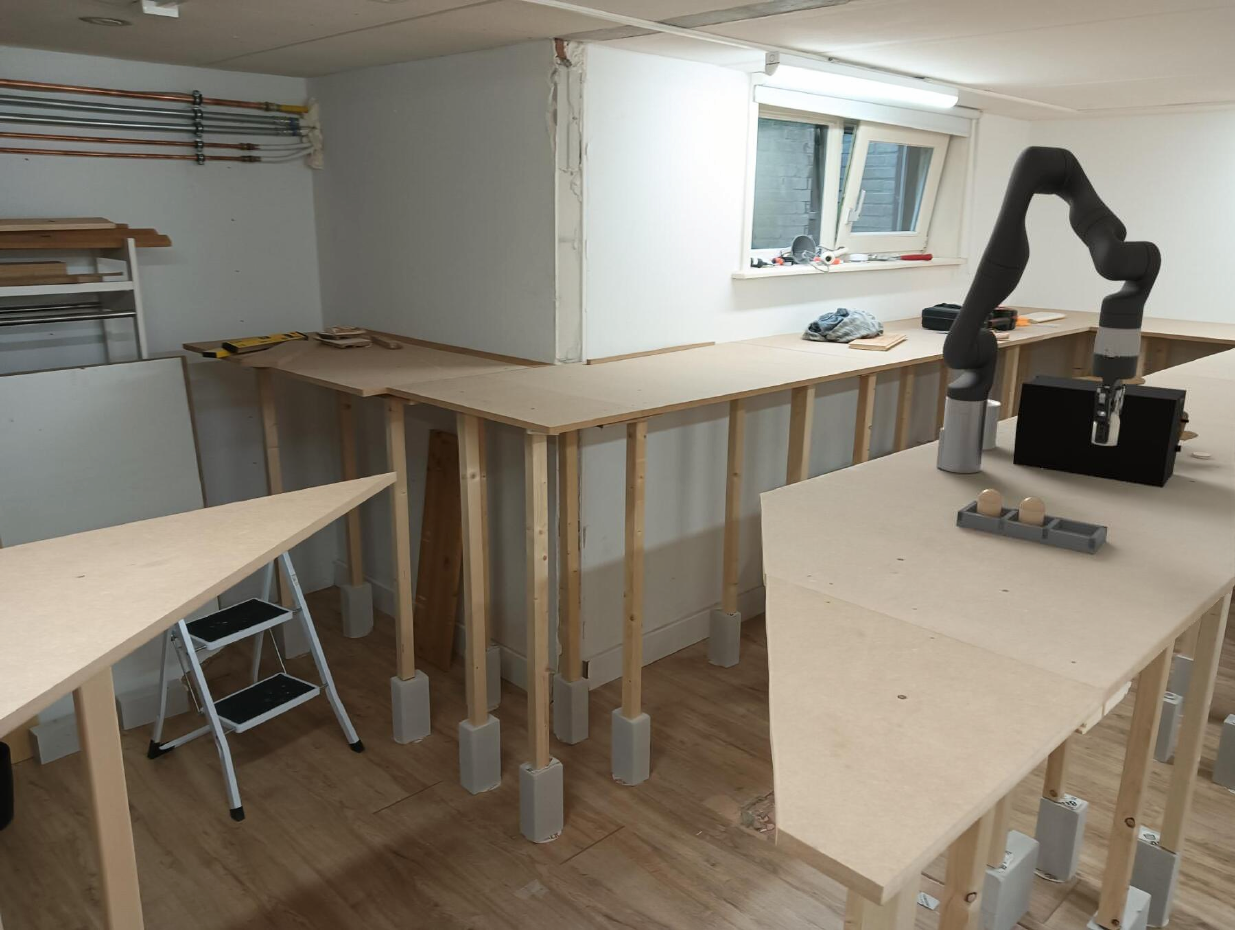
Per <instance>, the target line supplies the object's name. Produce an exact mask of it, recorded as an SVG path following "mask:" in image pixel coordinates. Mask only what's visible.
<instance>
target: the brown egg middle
mask: <svg viewBox="0 0 1235 930" xmlns="http://www.w3.org/2000/svg"><path fill="white" fill-rule="evenodd" d="M1045 510H1046V506H1045V504H1044V501H1043V500H1042V499H1040V498H1039V497H1037V496H1028V497H1026V498H1024V499H1023V500H1022V501H1021V503H1020V505H1019V518H1018V522H1019V523H1024V524H1029V525H1034V526H1039V527H1043V520H1044V515H1045V512H1046V511H1045Z"/></svg>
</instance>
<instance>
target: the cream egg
mask: <svg viewBox="0 0 1235 930" xmlns="http://www.w3.org/2000/svg"><path fill="white" fill-rule="evenodd" d="M1105 415H1106V413H1105V412H1101V416H1105ZM1096 426H1097V423H1096V422H1094V425H1093V432H1092V440H1091V442H1092V443H1094V444H1097V445H1104V446H1114V445H1117V440H1118V433H1119V426H1120V419H1119V417H1118V416H1117V415H1116V414H1115V413H1113V415H1112V422H1111V424H1110V431H1109V439H1108V442H1107V443H1106V444H1101V443H1096V442H1095V433H1096Z"/></svg>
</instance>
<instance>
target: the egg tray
mask: <svg viewBox="0 0 1235 930" xmlns="http://www.w3.org/2000/svg"><path fill="white" fill-rule="evenodd" d="M977 504H978V500H973V501H972V502H970V503H969V504H967V505H966V506H964V507H963V508H961V509H959V510H958V511H957V515H956V526H959V527H963V528H968V529H973V530H978V531H982V532H987V533H991V534H997V535H1001V536H1005V537H1010V538H1016V539H1018V540H1019V539H1020V540H1024V541H1029V542H1034V543H1038V544H1043V545H1048V546H1052V547H1057V548H1061V549H1066V550H1069V551H1071V550H1072V551H1075V552H1080V553H1085V554H1090V555H1094V554H1095V553H1096V552H1097V551H1098V550H1099V549H1100V548H1101V547H1102V545H1103V544H1104V543H1105V542H1106V541H1107V534H1108V529H1109V527H1108V526H1104V525H1099V524H1094V523H1090V522H1085V521H1079V520H1074V519H1069V518H1063V517H1058V516H1054V515H1049V514H1044V520H1043V527H1039V526H1034V525H1029V524H1024V523H1019V522H1018V518H1019V510H1020V508H1013V507H1008V506H1003V505H1002V506H1001V515H1000V518H995V517H990V516H985V515H980V514H977Z"/></svg>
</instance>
